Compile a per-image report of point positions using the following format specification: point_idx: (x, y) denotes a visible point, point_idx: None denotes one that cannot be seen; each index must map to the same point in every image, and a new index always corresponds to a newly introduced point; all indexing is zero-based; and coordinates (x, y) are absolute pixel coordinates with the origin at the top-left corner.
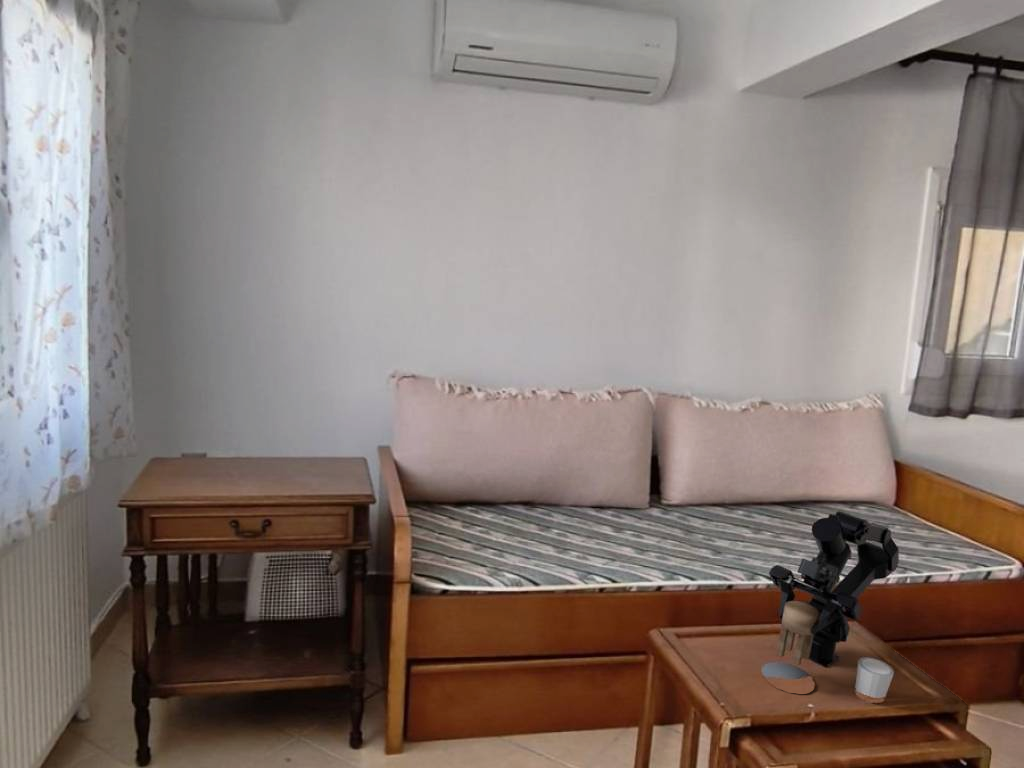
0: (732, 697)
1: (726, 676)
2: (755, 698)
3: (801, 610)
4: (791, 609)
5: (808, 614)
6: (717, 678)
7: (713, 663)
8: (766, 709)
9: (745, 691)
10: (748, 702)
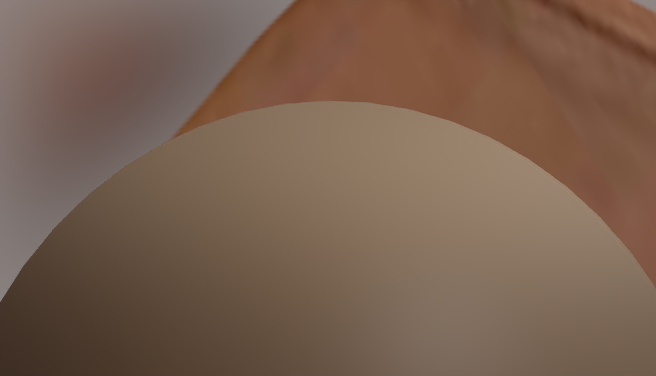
0: (442, 17)
1: (546, 141)
2: (370, 82)
3: (316, 368)
4: (482, 229)
5: (141, 309)
6: (562, 95)
7: (652, 197)
8: (302, 45)
9: (426, 97)
10: (378, 34)
